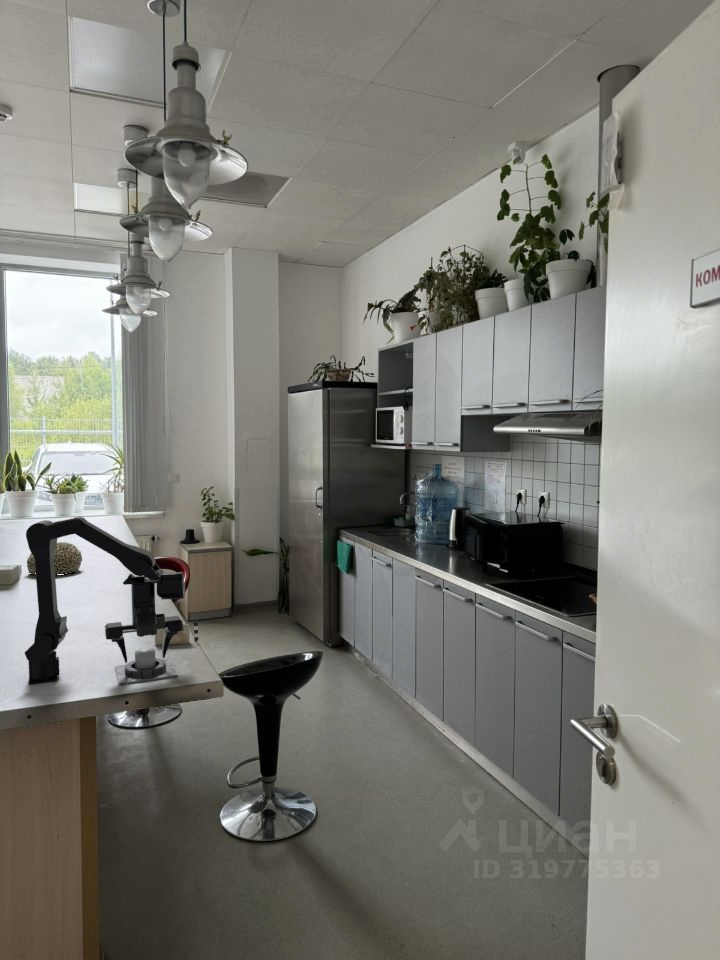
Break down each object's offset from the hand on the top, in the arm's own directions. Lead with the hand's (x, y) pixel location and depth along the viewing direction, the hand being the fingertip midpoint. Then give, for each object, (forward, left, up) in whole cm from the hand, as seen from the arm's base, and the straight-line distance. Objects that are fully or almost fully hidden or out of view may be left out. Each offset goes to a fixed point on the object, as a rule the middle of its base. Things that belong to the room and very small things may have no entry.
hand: (145, 660), depth 172 cm
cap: (0, 0, -3) cm, 3 cm away
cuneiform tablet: (+11, +22, -4) cm, 25 cm away
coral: (-23, +154, -4) cm, 156 cm away
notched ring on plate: (0, 0, -3) cm, 3 cm away
